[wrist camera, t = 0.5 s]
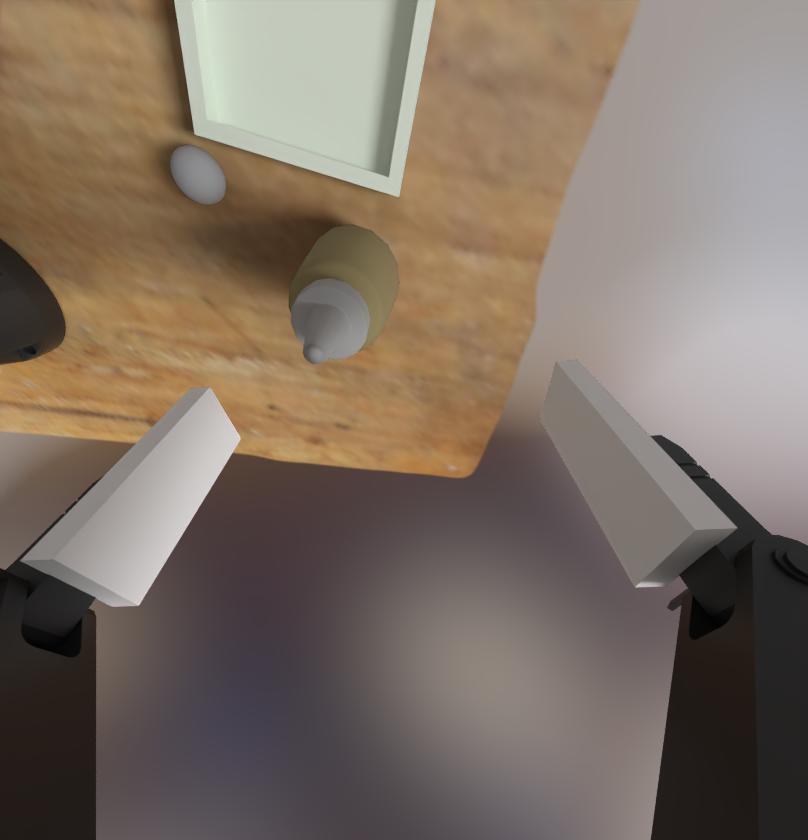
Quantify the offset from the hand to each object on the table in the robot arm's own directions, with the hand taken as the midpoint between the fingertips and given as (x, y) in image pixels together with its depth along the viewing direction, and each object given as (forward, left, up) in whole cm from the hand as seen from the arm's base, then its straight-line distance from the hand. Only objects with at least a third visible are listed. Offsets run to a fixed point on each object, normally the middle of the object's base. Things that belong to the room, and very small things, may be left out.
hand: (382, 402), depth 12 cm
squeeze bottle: (-4, -1, -22) cm, 23 cm away
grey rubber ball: (-17, +3, -22) cm, 28 cm away
